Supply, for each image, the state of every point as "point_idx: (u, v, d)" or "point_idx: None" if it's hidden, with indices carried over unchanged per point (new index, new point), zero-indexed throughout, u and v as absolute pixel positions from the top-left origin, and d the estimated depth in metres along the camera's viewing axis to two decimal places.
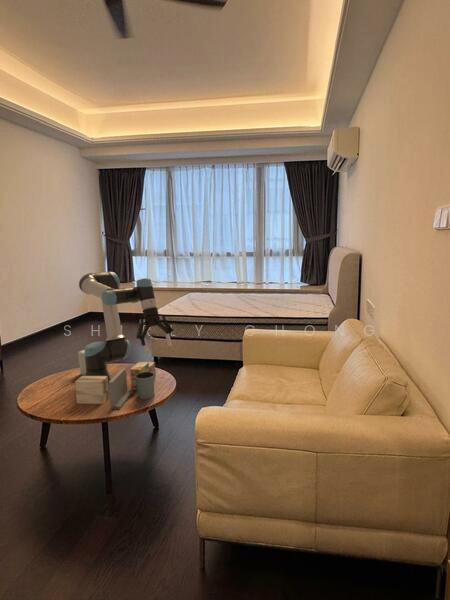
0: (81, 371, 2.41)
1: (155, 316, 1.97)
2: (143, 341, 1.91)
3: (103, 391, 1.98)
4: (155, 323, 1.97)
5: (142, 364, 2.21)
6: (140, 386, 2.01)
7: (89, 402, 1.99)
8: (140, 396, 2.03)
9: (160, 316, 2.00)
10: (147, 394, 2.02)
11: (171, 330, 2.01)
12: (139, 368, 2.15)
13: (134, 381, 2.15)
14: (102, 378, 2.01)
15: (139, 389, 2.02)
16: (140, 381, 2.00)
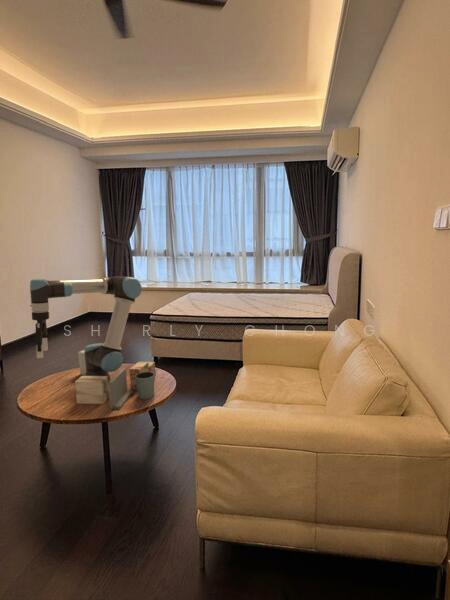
0: (81, 371, 2.41)
1: None
2: None
3: (103, 391, 1.98)
4: None
5: (142, 364, 2.22)
6: (140, 386, 2.01)
7: (89, 402, 1.99)
8: (140, 396, 2.03)
9: (38, 323, 1.82)
10: (147, 394, 2.02)
11: None
12: (138, 368, 2.15)
13: (133, 381, 2.15)
14: (102, 378, 2.01)
15: (139, 389, 2.02)
16: (140, 381, 2.00)
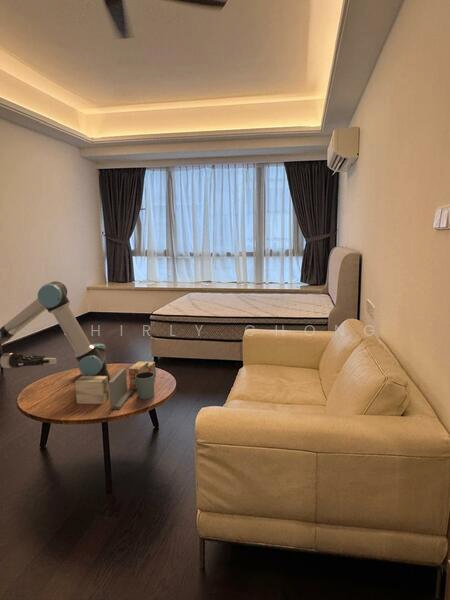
0: None
1: None
2: None
3: (103, 391, 1.98)
4: None
5: (141, 364, 2.22)
6: (140, 386, 2.01)
7: (89, 402, 1.99)
8: (140, 396, 2.03)
9: (18, 364, 1.97)
10: (147, 394, 2.02)
11: (38, 364, 1.99)
12: (138, 367, 2.16)
13: (133, 381, 2.16)
14: (102, 378, 2.01)
15: (139, 389, 2.02)
16: (140, 381, 2.00)
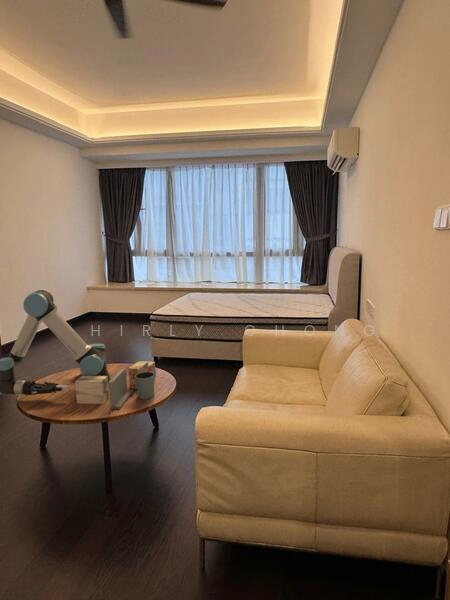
0: None
1: None
2: None
3: (103, 391, 1.98)
4: None
5: (141, 363, 2.22)
6: (140, 386, 2.01)
7: (89, 402, 1.99)
8: (140, 396, 2.03)
9: (32, 392, 1.99)
10: (147, 394, 2.02)
11: None
12: (137, 367, 2.16)
13: (132, 381, 2.16)
14: (102, 378, 2.01)
15: (139, 389, 2.02)
16: (140, 381, 2.00)
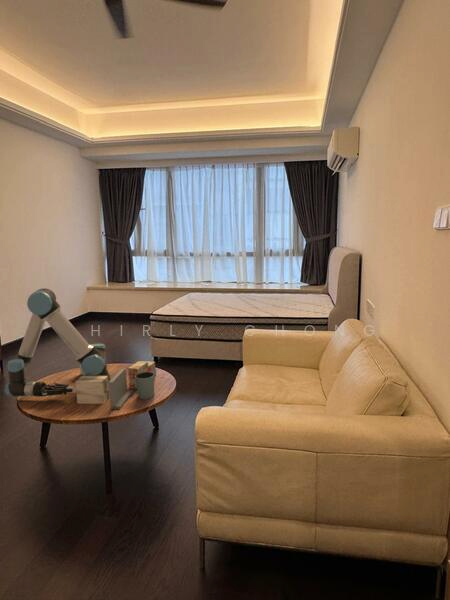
0: (81, 371, 2.41)
1: None
2: None
3: (103, 391, 1.98)
4: None
5: (141, 363, 2.23)
6: (140, 386, 2.01)
7: (90, 402, 1.99)
8: (140, 396, 2.03)
9: (42, 393, 1.99)
10: (147, 394, 2.02)
11: (62, 393, 2.00)
12: (137, 367, 2.16)
13: (132, 380, 2.17)
14: (102, 378, 2.01)
15: (139, 389, 2.02)
16: (140, 381, 2.00)
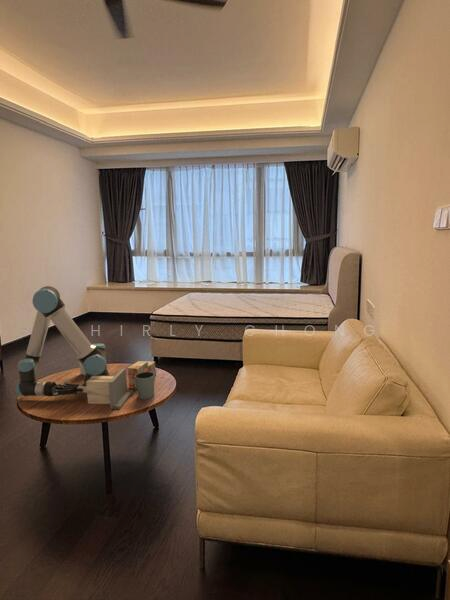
0: (81, 371, 2.41)
1: None
2: None
3: None
4: None
5: (141, 363, 2.23)
6: (140, 386, 2.01)
7: (100, 402, 1.98)
8: (140, 396, 2.03)
9: None
10: (147, 394, 2.02)
11: None
12: (137, 367, 2.16)
13: (132, 380, 2.17)
14: None
15: (139, 389, 2.02)
16: (140, 381, 2.00)
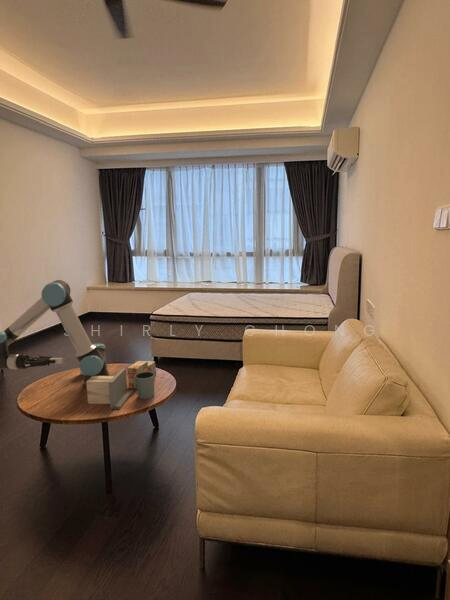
0: None
1: None
2: None
3: None
4: None
5: (140, 363, 2.23)
6: (140, 386, 2.01)
7: (100, 402, 1.98)
8: (140, 396, 2.03)
9: None
10: (147, 394, 2.02)
11: None
12: (136, 367, 2.17)
13: (131, 380, 2.17)
14: None
15: (139, 389, 2.02)
16: (140, 381, 2.00)
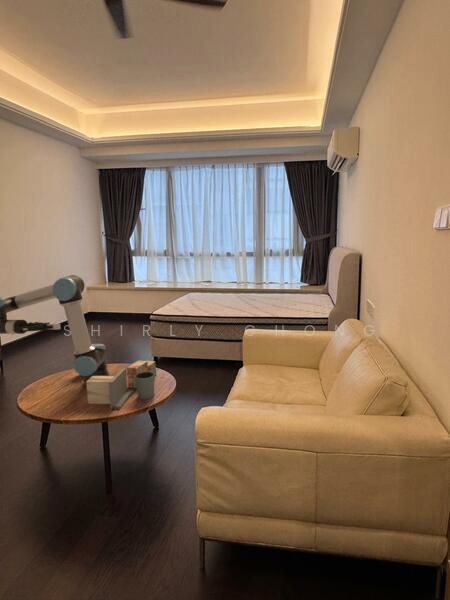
0: None
1: None
2: None
3: None
4: None
5: (140, 363, 2.23)
6: (140, 386, 2.01)
7: (100, 402, 1.98)
8: (140, 396, 2.03)
9: None
10: (147, 394, 2.02)
11: (42, 330, 2.03)
12: (136, 367, 2.17)
13: (131, 380, 2.18)
14: None
15: (139, 389, 2.02)
16: (140, 381, 2.00)
